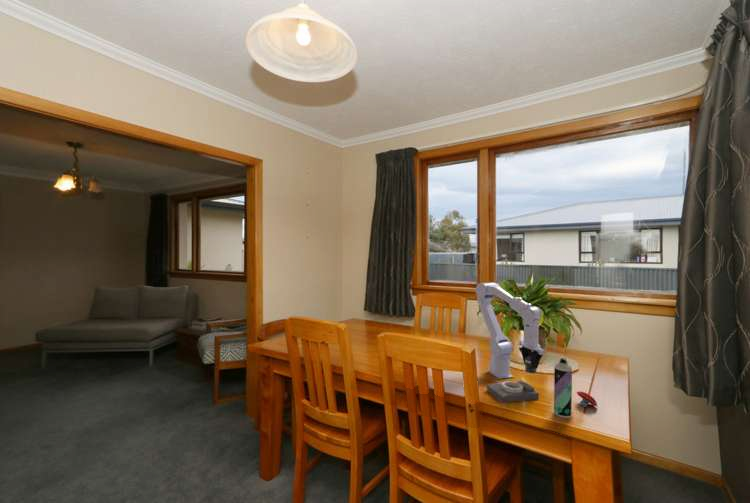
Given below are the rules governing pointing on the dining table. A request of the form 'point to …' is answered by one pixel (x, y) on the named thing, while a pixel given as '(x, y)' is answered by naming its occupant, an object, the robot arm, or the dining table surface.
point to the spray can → (563, 389)
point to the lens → (529, 365)
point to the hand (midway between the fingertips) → (530, 366)
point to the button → (586, 399)
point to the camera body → (513, 391)
